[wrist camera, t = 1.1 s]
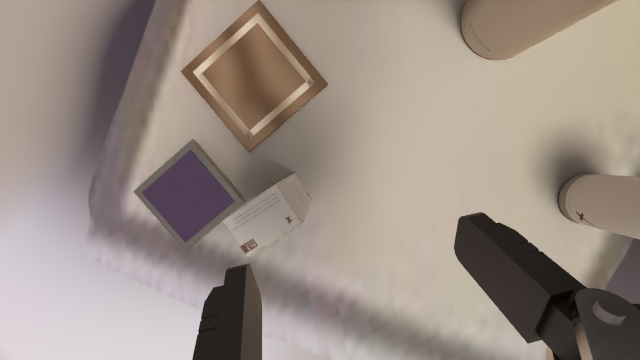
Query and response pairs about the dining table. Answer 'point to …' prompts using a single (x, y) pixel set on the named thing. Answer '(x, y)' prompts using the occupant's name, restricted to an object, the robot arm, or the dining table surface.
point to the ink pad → (189, 195)
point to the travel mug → (603, 202)
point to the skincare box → (269, 215)
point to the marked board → (254, 76)
